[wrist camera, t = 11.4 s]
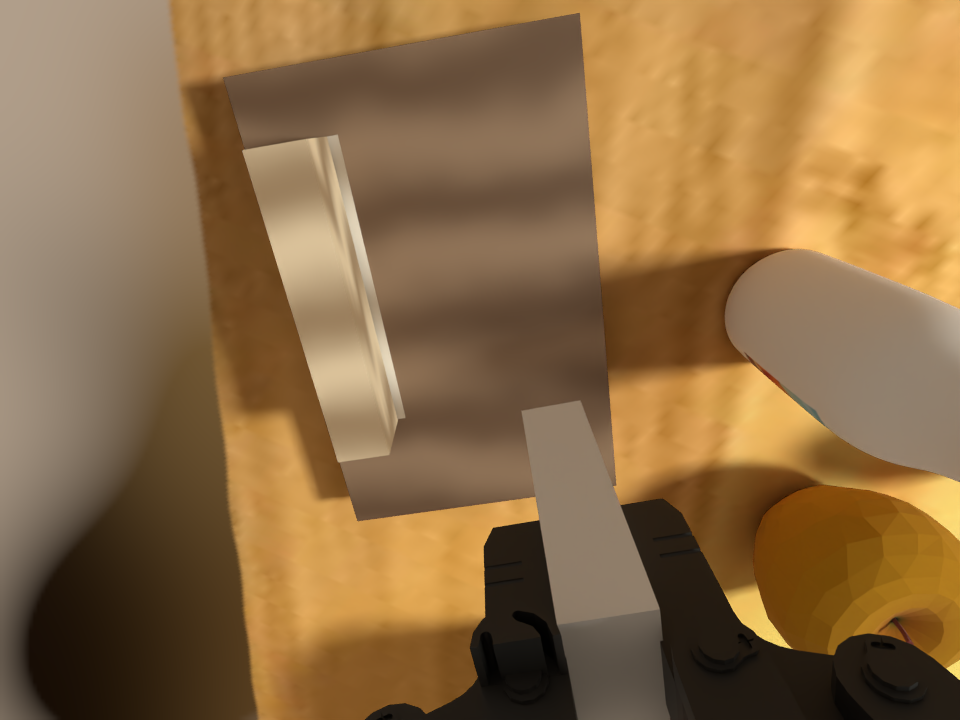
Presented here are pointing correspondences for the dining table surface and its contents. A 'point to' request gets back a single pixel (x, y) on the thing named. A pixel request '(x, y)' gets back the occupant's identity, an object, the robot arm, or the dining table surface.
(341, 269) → the folding leg
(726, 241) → the dining table surface
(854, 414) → the milk bottle
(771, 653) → the robot arm
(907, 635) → the apple
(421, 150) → the stool seat
